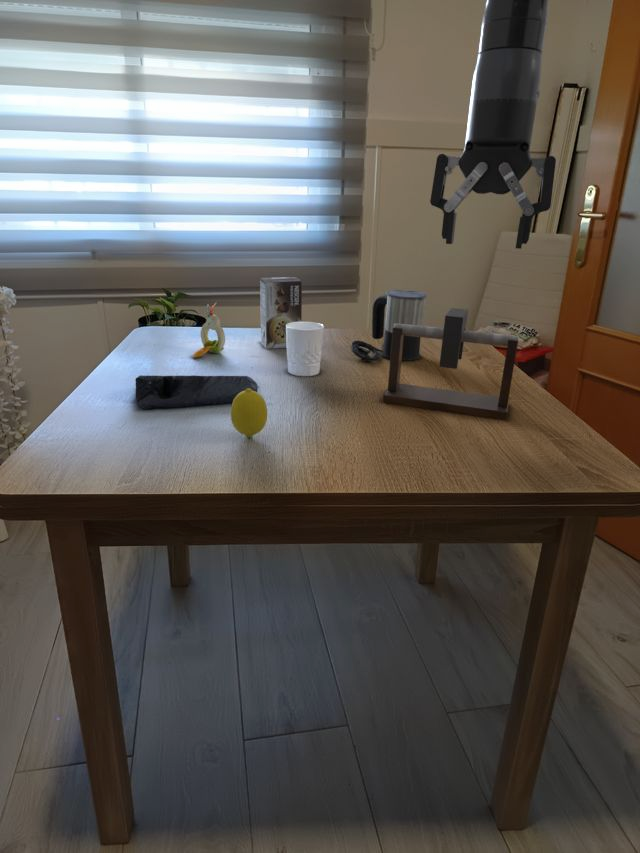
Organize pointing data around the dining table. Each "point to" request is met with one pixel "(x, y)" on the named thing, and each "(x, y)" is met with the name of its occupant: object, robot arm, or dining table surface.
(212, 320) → the rattle
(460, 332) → the dark grey hook
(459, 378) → the dining table surface
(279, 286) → the coffee box
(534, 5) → the robot arm
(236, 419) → the lemon
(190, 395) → the dark slate chunk
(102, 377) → the dining table surface
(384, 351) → the milk frother
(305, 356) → the white cup
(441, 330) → the rail stand
